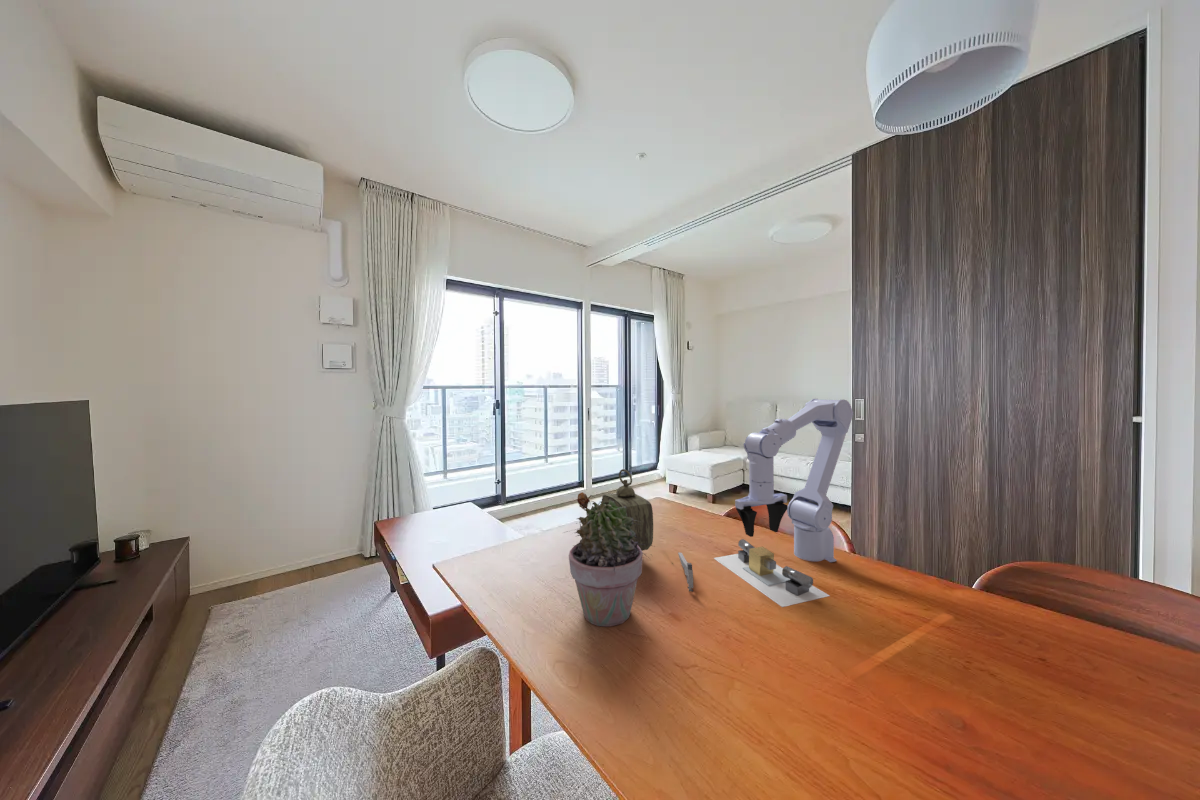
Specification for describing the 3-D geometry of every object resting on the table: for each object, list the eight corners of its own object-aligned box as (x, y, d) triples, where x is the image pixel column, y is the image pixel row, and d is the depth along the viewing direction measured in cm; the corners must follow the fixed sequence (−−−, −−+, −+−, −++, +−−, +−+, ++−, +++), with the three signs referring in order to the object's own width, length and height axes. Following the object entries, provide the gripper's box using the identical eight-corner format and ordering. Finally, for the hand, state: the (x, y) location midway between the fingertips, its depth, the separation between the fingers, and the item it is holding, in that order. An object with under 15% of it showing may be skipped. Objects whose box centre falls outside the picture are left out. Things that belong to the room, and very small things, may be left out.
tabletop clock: (601, 552, 114) (600, 466, 113) (629, 546, 118) (628, 463, 117) (626, 573, 101) (624, 476, 100) (656, 566, 105) (654, 472, 104)
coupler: (756, 561, 103) (757, 543, 103) (779, 577, 96) (780, 557, 95) (743, 564, 102) (744, 545, 101) (765, 580, 94) (766, 559, 94)
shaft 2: (779, 587, 91) (779, 568, 91) (791, 582, 93) (791, 564, 93) (803, 599, 86) (803, 579, 86) (815, 594, 88) (815, 574, 88)
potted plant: (655, 646, 73) (653, 512, 72) (553, 635, 77) (550, 508, 76) (660, 595, 91) (658, 487, 90) (577, 588, 95) (575, 484, 94)
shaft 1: (735, 555, 108) (735, 539, 108) (749, 554, 109) (749, 538, 109) (746, 565, 102) (746, 548, 102) (761, 564, 103) (761, 547, 103)
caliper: (693, 593, 92) (693, 567, 92) (688, 593, 92) (688, 567, 92) (681, 555, 112) (680, 533, 112) (677, 555, 112) (676, 533, 112)
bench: (753, 554, 111) (753, 549, 111) (830, 600, 87) (830, 594, 87) (713, 561, 107) (713, 556, 107) (782, 611, 83) (782, 605, 83)
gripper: (772, 474, 107) (773, 523, 107) (727, 479, 102) (727, 531, 102) (793, 480, 100) (793, 533, 101) (745, 486, 95) (746, 541, 96)
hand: (761, 533), depth 101 cm, fingers open, 7 cm apart
